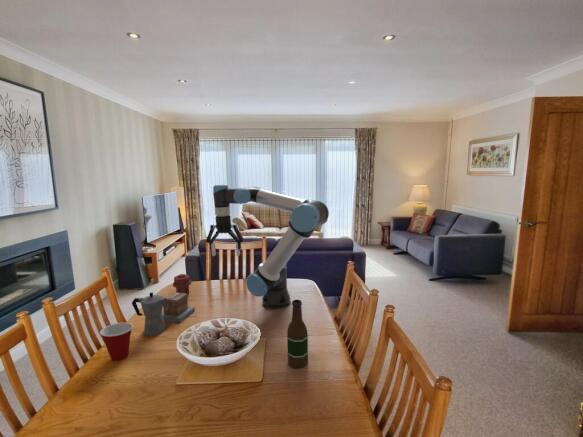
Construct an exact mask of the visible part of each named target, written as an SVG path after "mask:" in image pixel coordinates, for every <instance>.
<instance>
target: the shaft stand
mask: <svg viewBox="0 0 583 437" xmlns="http://www.w3.org/2000/svg"><path fill="white" fill-rule="evenodd" d="M195 308H196V307H195V306H188V309H187V310H185V311H184V312H183V313H182V314H180V315H179V316H174V315H165V314H164V310H162V317H163V320H164V322H165V321H166V322H173V323H182V322H183V321H185V319H187V318H188V317H190V316H191V315H192V314H193V313H194V312H195V311H196V309H195Z"/></svg>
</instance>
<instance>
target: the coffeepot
mask: <svg viewBox="0 0 583 437" xmlns="http://www.w3.org/2000/svg"><path fill="white" fill-rule="evenodd" d="M148 294H149V295H148V296H145V297H135V298H134V299H133V300H132V301H131V305H132V307H133V309H134V310H135V313H136V315H137V316H140V317H142V316H144V317H145V318H144V328H143V329H144V331H143V334H144V336H147V337H148V336H151V337H152V336H157V335H160V334H162V333H163V332H164V331H165V330H166V323H165V321H164V320H163V317H162V312H163V305H164V303H165V302H166V301H167V298H165V297H164V296H163V295H160V294H154V292H150V293H148ZM137 303H140V304H141V308H142V312H143V313H142V312H141V313H140V309H139V308H138V304H137Z"/></svg>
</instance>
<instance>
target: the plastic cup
mask: <svg viewBox="0 0 583 437" xmlns="http://www.w3.org/2000/svg"><path fill="white" fill-rule="evenodd" d="M133 328H134V325H133V323H131V322H118V323H112V324H110V325H107V326H105V327H104V328H102V329H101V330H100V331H99V332H100V335H101V337H102V339H103V341H104V344H105V347H106V349H107V350H106V351H107V352H108V355H109V358H110V360H111V361H112V362H120V361H123V360H124V359H126V358H127V357H129V356H128V355H129V351H130V345H131V342H130V341H131V333H132V330H133Z"/></svg>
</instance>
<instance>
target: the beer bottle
mask: <svg viewBox="0 0 583 437" xmlns="http://www.w3.org/2000/svg"><path fill="white" fill-rule="evenodd" d="M291 301H292V302H291V305H292V313H291V321H290V322H289V324H288V327H287V330H286V335H287V336H286V337H287V338H286V339H287V361H288V366H289V367H292V369H303V368H305V366H307V365H308V361H309V348H308V347H309V339H308V338H309V335H308V329H307V326H306V324H305V322H304V321H303V310H302V305H303V302H302V300H300V299H294V300H291Z"/></svg>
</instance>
